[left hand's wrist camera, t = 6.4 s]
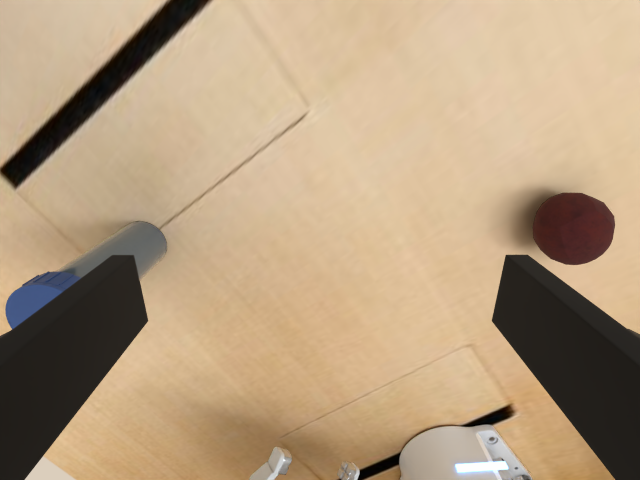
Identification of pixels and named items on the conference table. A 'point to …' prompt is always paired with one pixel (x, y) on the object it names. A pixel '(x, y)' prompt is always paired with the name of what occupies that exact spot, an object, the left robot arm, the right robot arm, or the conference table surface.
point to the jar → (123, 249)
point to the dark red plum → (573, 228)
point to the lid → (36, 295)
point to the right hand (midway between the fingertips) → (319, 458)
